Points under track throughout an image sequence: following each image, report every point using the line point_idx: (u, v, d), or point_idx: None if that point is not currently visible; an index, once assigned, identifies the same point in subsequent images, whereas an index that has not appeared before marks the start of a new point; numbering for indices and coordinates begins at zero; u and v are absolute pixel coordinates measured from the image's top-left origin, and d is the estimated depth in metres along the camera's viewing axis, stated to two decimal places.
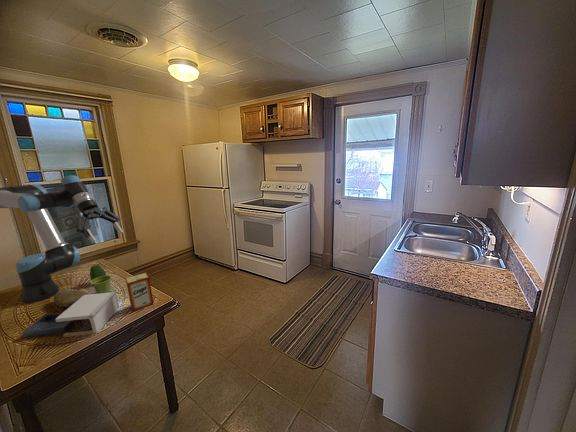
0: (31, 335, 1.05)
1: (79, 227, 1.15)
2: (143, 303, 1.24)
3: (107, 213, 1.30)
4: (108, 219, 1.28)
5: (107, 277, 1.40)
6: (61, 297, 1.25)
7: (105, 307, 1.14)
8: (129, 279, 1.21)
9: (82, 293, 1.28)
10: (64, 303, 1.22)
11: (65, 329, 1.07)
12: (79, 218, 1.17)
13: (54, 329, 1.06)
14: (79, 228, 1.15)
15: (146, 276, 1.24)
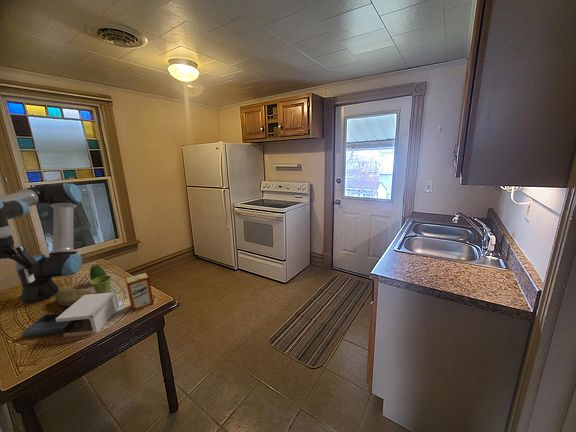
0: (31, 335, 1.05)
1: None
2: (143, 303, 1.24)
3: None
4: None
5: (107, 277, 1.40)
6: (63, 296, 1.26)
7: (105, 307, 1.14)
8: (129, 279, 1.21)
9: (84, 292, 1.29)
10: (66, 302, 1.23)
11: (65, 329, 1.07)
12: None
13: (54, 329, 1.06)
14: None
15: (146, 276, 1.24)
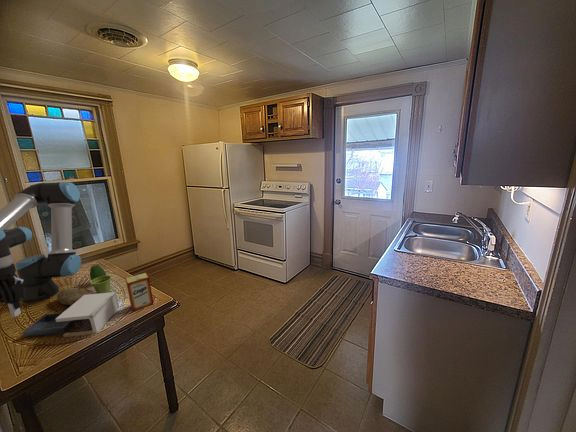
0: (31, 335, 1.05)
1: None
2: (143, 303, 1.24)
3: None
4: None
5: (107, 277, 1.40)
6: (65, 295, 1.27)
7: (105, 307, 1.14)
8: (129, 279, 1.21)
9: (86, 291, 1.30)
10: (69, 301, 1.24)
11: (65, 329, 1.07)
12: None
13: (54, 329, 1.06)
14: (0, 301, 1.04)
15: (146, 276, 1.24)
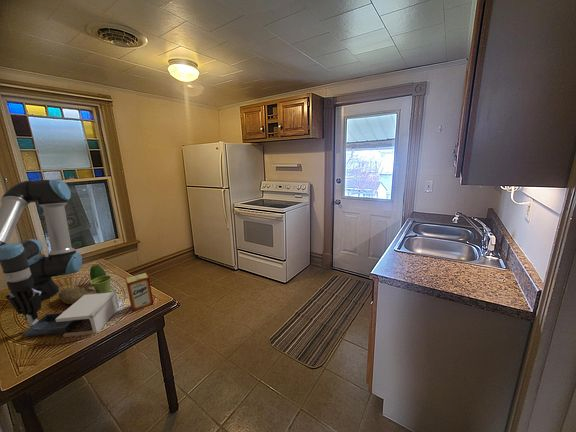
0: (32, 335, 1.05)
1: (18, 311, 1.06)
2: (143, 303, 1.24)
3: None
4: None
5: (107, 277, 1.40)
6: (67, 294, 1.27)
7: (105, 307, 1.14)
8: (129, 279, 1.21)
9: (88, 290, 1.31)
10: (71, 300, 1.25)
11: (66, 329, 1.07)
12: (11, 302, 1.05)
13: (55, 329, 1.06)
14: (18, 312, 1.06)
15: (146, 276, 1.24)
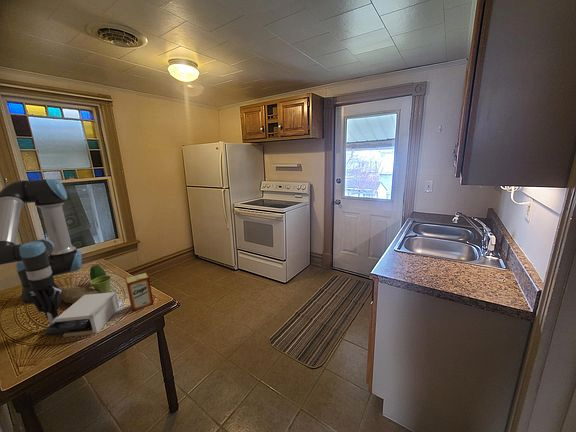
0: (53, 333, 1.06)
1: (39, 309, 1.07)
2: (143, 303, 1.24)
3: None
4: None
5: (107, 277, 1.40)
6: (69, 294, 1.28)
7: (105, 307, 1.14)
8: (129, 279, 1.21)
9: (90, 289, 1.32)
10: (73, 299, 1.25)
11: (86, 327, 1.08)
12: (32, 300, 1.06)
13: (75, 327, 1.07)
14: (39, 310, 1.07)
15: (146, 276, 1.24)
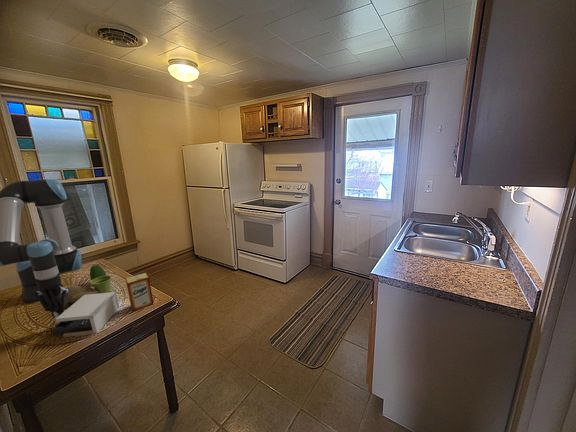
0: (60, 332, 1.06)
1: (45, 309, 1.08)
2: (143, 303, 1.24)
3: None
4: None
5: (107, 277, 1.40)
6: (69, 293, 1.28)
7: (105, 307, 1.14)
8: (129, 279, 1.21)
9: (90, 289, 1.32)
10: (73, 299, 1.26)
11: None
12: (39, 299, 1.06)
13: (82, 326, 1.07)
14: (46, 310, 1.08)
15: (146, 276, 1.24)
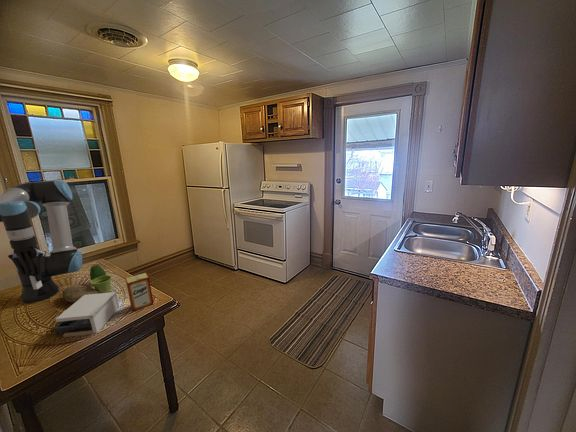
0: (62, 332, 1.07)
1: (21, 272, 1.04)
2: (143, 303, 1.24)
3: None
4: None
5: (107, 277, 1.40)
6: (70, 293, 1.29)
7: (105, 307, 1.14)
8: (129, 279, 1.21)
9: (90, 289, 1.32)
10: (73, 298, 1.26)
11: None
12: (14, 262, 1.02)
13: (84, 326, 1.07)
14: (22, 273, 1.04)
15: (146, 276, 1.24)
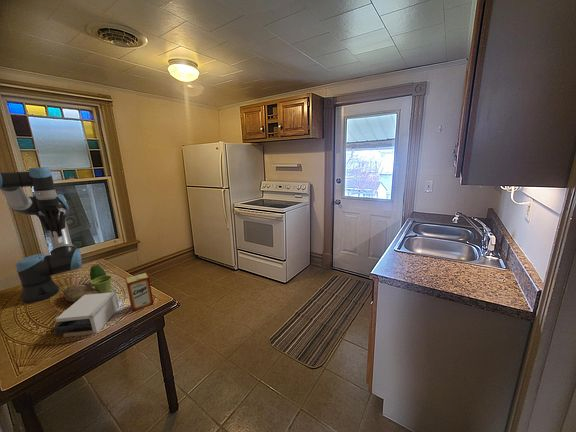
0: (62, 332, 1.07)
1: (45, 228, 1.24)
2: (143, 303, 1.24)
3: None
4: None
5: (108, 277, 1.40)
6: (70, 292, 1.29)
7: (105, 307, 1.14)
8: (129, 279, 1.21)
9: (90, 289, 1.32)
10: (73, 298, 1.26)
11: None
12: (40, 219, 1.22)
13: (84, 326, 1.07)
14: (46, 229, 1.24)
15: (146, 276, 1.24)
